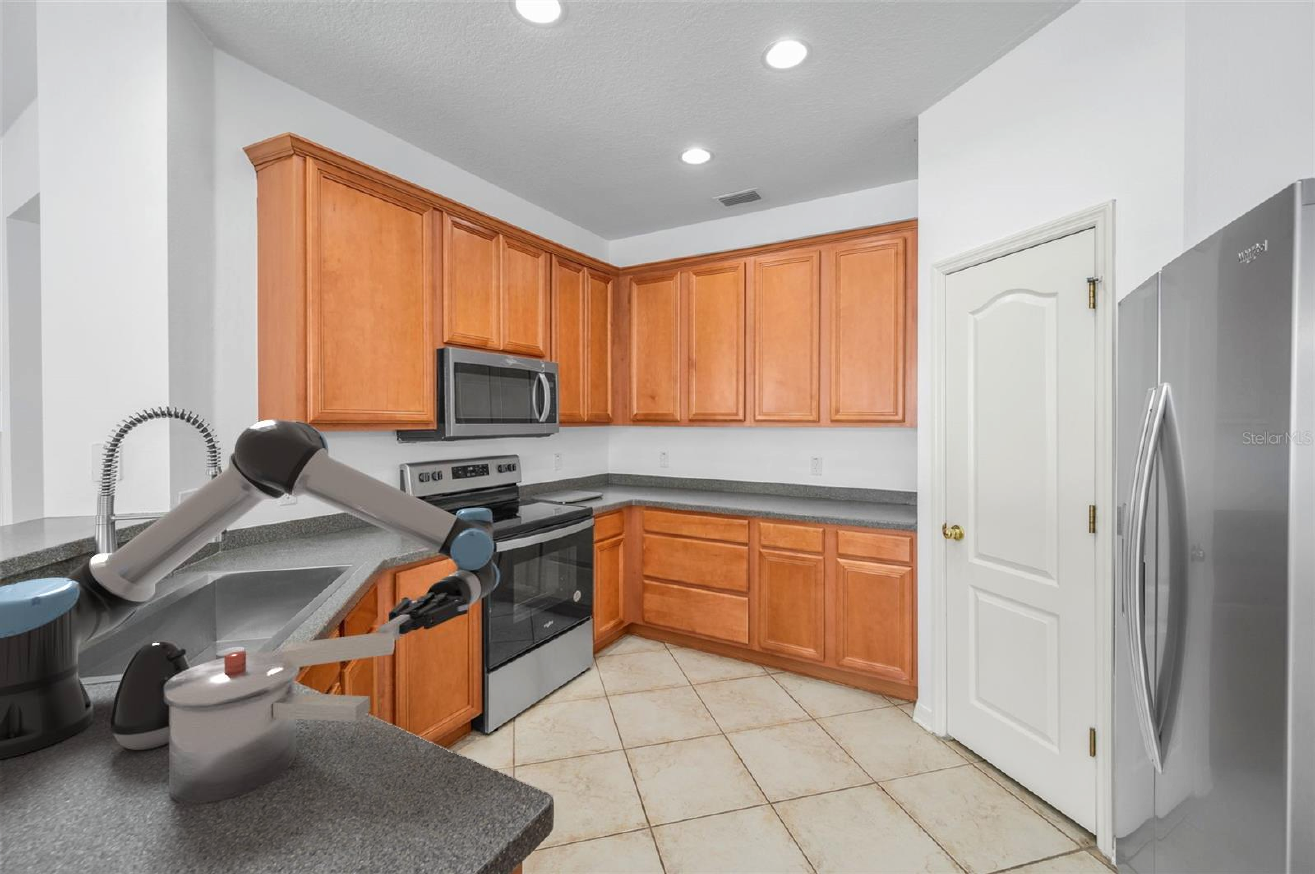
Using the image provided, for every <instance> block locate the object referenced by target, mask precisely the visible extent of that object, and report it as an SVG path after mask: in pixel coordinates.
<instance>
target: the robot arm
mask: <svg viewBox="0 0 1315 874" xmlns="http://www.w3.org/2000/svg"><path fill="white" fill-rule="evenodd" d="M285 494H288V495H289V496H291V497H295V498H296V497H300V496H304V495H306V496H307V497H310V498H312V499H314V500H316V501H319V502H321V503H323V504H326V505H328V506H331V507H332V508H335V509H337V510H340V511H342V512H343V513H346V514H349V515H350V516H352V517H356V518H358V519H360V520H362V521H365V522H367V523H370V524H372V525H374V526H377V528H378V527H379V528H380V529H383V530H385V531H388V532H390V533H392V534H394V535H396V536H399V537H401V538H403V539H405V540H408V541H410V542H413V543H415V544H417V545H419V546H422V547H424V548H426V549H429V550H431V551H434V552H436V553H438V554H440V555H442V556H444V557H446V558H449V559H451V560H452V561H453V563H454V564H456V565H455V569H456V571H455V572H452V573H450V574H449V575H447V576H445V577H444V578H441V579H439V580H438V581H435V582H434V583H433V584H432V585H431V586H430V587H429V589H428V590H427V592H426V594H425V595H421V596H419V597H418V598H417V599H416V600H413V598H409V597H406V596H404V597H403V598H402V597H401V601H400V602H399V603H398V604H397V605H396V606H395V607H394V608H392V609H391V611H389V612H388V622H387V621H386V623H384V624H382V625H380V626H378V627H377V633H380V632H388V631H394V642H395V641H397V640H398V639H400V638H402V637H403V636H405V635H406V634H409V633H410V632H412V631H417V630H419V629H421V628H423V630H430V629H432V628H434V627H437V626H440V625H441V624H444V623H445V622H448V621H449V620H453V619H454V618H456V617H459V616H462V615H463V616H464V615H468V612H469V611H468V609H469V607H471V606H472V605H474V604H475V603H477V602H479V601H480V600H481V599H483V598H485V597H487V596H489V595H490V594H491V593H492V592H493V591H494V590H495V588H497V586H498V584H499V582H500V578H501V573H500V570H499V568H498V566H497V565H496V564H495V563H494V556H493V554H494V550H495V542H494V537H493V536H494V532H493V531H494V527H493V525H494V521H493V512H492V510H491V509H490V508H485V507H473V508H472V507H471V508H462V509H459V510H458V511H457V512H456V514H452V513H450V512H448V511H446V510H444V509H442V508H440V507H438V506H435V505H433V504H431V503H429V502H427V501H425V500H422V499H420V498H418V497H416V496H414V495H412V494H409V493H407V492H406V491H403V490H401V489H398V488H396V487H394V486H392V485H391V484H388V483H386V482H384V481H381V480H379V479H378V478H375V477H373V476H371V475H368V474H366V473H364V472H362V471H360V470H358V469H356V468H354V467H351V466H349V465H347V464H345V463H344V462H340V461H338V460H336V459H333V458H331V457H330V456H329V446H328V442H327V439H326V438H325V436H324V435H323V433H321V431H320V430H318V429H317V428H316V427H314V426H312V425H310V424H308V423H306V422H303V421H300V420H299V421H298V420H283V419H282V420H281V419H267V420H263V421H259V422H256V423H253V424H252V425H249V427H247V428H245V430H244V431H242V432H241V434H240V435H239V436H238V437H237V439H236V443H235V444H234V452H233V453H231V454H230V455H229V457H228V467H227V468H225V469H224V470H222V472H220V473H219V474H218V475H217V476H215V477H214V478H213V479H211V480H209V481H208V482H207V483H205V484H204V485H203V486H201V487H200V488H199V489H198V490H196V491H194V492H193V493H192V494H191V495H190V496H188V497H186V498H185V499H184V500H183V501H182V502H180V503H179V504H178V505H175V507H174V508H172V509H171V510H169V511H168V512H166V513H165V514H164V515H163V516H161V517H160V518H159V519H157V520H156V521H155V522H153V523H152V524H150V525H149V526H148V527H147V528H145V529H144V530H143V531H141V532H139V534H137V535H136V536H135V537H133V538H132V539H130V540H129V541H128V542H126V543H125V544H124V545H123V546H121V547H119V548H118V549H117V550H116V551H114V552H112V553H111V552H110V553H109V552H103V553H98V554H95V555H94V556H93V557H91V558H90V559H88V560H87V561H85V562H84V563H83V564H81V565H80V566H79V567H78V568H76V569H75V570H74V571H72V572H70V573H69V574H68V575H67V576H65V577H45V578H35V579H28V580H24V581H19V582H17V583H14V584H6V585H2V586H0V760H3V759H8V758H13V757H16V756H20V755H23V754H27V753H30V752H33V751H36V750H40V749H43V748H46V747H49V746H51V745H54V744H56V743H59V742H62V741H63V740H66V739H69V738H70V737H73V736H74V735H76V734H78V733H80V732H81V731H83V730H85V729H86V728H87V727H88V726H90V725H91V724H92V722H93V721H94V704H93V702H92V701H91V699H90V696H89V694H88V692H87V691H86V689H85V686H84V683H82V680H81V678H80V676H79V647H80V646H82V645H84V644H86V643H88V642H90V641H92V640H93V639H96V638H97V637H100V636H102V635H104V634H107V633H110V632H111V631H114V630H116V629H118V628H120V627H122V626H123V625H124V624H125V623H127V622H128V621H130V620H131V619H132V617H133V616H134V615H135V614H136V613H137V612H138V611H139V610H140V608H141V606H143V605H144V604H145V603H146V602H148V601H149V600H150V599H152V598H153V596H154V595H155V593H156V584H157V583H159V581H161V580H162V579H164V578H165V577H166V576H168V575H169V574H170V573H171V572H173V571H174V570H176V568H179V566H180V565H181V564H183V563H184V562H185V561H187V560H188V559H189V558H191V557H192V556H193V555H195V554H196V553H198V551H200V550H201V549H202V548H204V547H205V546H206V545H207V544H209V543H210V542H212V540H214V539H215V538H217V537H218V536H219V535H220V534H222V533H223V532H224V531H225V530H226V529H228V528H229V527H231V526H232V525H233V524H235V523H236V522H237V521H239V520H240V519H241V518H243V516H245V515H246V514H248V513H249V512H250V511H252V510H253V509H254V508H255V507H257V506H258V505H259V504H260V503H262V502H263V501H264V500H278V499H280V498H281V497H283V496H284V495H285Z"/></svg>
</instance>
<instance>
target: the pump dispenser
mask: <svg viewBox="0 0 1315 874" xmlns="http://www.w3.org/2000/svg"><path fill="white" fill-rule="evenodd" d="M186 654H187V650H186V648H181V649H180V647H178V646H177V645H176V644H175V643H174V642H171V641H167V640H157V641H152V642H150V643H147V644H144V645H143V646H141V647H140V648H139V649H138V650H137V651H136V652H135V653H134V655H133V656H132V657H131V659H130V660H129V661H128V664H127V665H126V667H125V669H124V671H123V673H122V676H121V679H120V681H119V684H118V687H117V689H116V693H115V695H114V699H113V702H112V703H113V704H112V708H111V713H110V720H109V730H110V732H111V733H112V734H113V736H114V738H115V740H116V742H117V743H118V744H119V745H120V746H121V747H124V748H125V749H129V750H134V751H135V750H136V751H143V750H144V751H145V750H151V749H155V748H158V747H159V748H160V747H162V746H165V745H168V744H169V705H167V704H166V703H165V702H164V685H165V684H166V682H167V681H168V680H170V679H171V678H172V677H174V676H176V675H177V674H179V673H181V672H183V671H185V670H188V669H190V668H191V666H190V663H189V661H188V659H187V657H186Z"/></svg>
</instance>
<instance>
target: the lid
mask: <svg viewBox="0 0 1315 874" xmlns="http://www.w3.org/2000/svg"><path fill="white" fill-rule="evenodd" d="M394 650H395V641H394V631H388V632H380V633H378V632H374V633H373V632H372V633H366V634H357V635H349V636H342V637H332V638H326V639H316V640H315V639H314V640H308V641H300V642H291V643H287V645H286V646H285V648H284V649H283V651H277V650H275V651H274V650H273V651H271V650H270V651H267V650H266V651H257V652H256V651H255V652H249V653H247V652H246V650H245V651H238V652H233V653H229V654H227V655H225V657H224V658H221V659H217V660H216V659H214V660H210V661H207V662H204V663H200V664H198V665H194V666H193V667H190V669H188V670H185V671H183V672H181V673H179V674H177V675H176V676H174V677H172V678H171V679H170V680H168V681H167V682H166V684H165V685H164V702H165V703H166V704H167V705H169V706H172V707H177V708H206V707H214V706H220V705H226V704H231V703H235V702H239V701H243V700H247V699H250V698H254V697H257V696H260V695H263V694H265V693H268V692H271V691H273V690H275V689H278V688H280V687H281V686H283V685H285V684H287V683H289V682H290V681H291V680H293V679H294V678H295V679H296V677H297V676H298V675H299V673H300V668H301V667H310V666H314V665H315V666H316V665H317V666H318V665H322V664H323V665H324V664H329V663H330V664H331V663H338V662H339V663H340V662H346V661H351V660H360V659H366V658H367V659H368V658H373V657H380V656H381V657H382V656H388V655H389V656H390V655H393V654H394Z"/></svg>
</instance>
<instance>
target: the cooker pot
mask: <svg viewBox="0 0 1315 874" xmlns="http://www.w3.org/2000/svg"><path fill="white" fill-rule="evenodd" d="M369 712H371V697H370V695H369V696H368V695H347V694H330V693H329V694H327V693H323V694H322V693H304V692H303V693H301V692H296V677H295V678H294V679H293V680H291V681H290V682H289V683H287V684H285V685H283V686H281V687H280V688H278V689H275V690H273V691H271V692H268V693H265V694H263V695H260V696H257V697H254V698H250V699H247V700H243V701H239V702H235V703H231V704H226V705H220V706H214V707H206V708H177V707H172V706H169V743H168V753H169V754H168V758H169V759H168V760H169V761H168V765H169V766H168V772H169V773H168V783H169V785H168V786H169V787H168V788H169V789H168V791H169V796H170V798H171V799H173V800H174V801H177V802H178V803H182V804H192V805H193V804H195V805H196V804H206V803H207V804H208V803H214V802H218V801H223V800H227V799H231V798H235V797H238V796H241V795H243V794H246V793H249V792H251V791H254V790H257V789H259V788H260V786H261V787H263V786H264V785H267V784H269V783H270V782H272V781H274V780H276V779H277V778H278V777H280V776H281V775H283V774H284V773H285V772H286V771H288V769H289V768H290V767H291V766H292V765H293V764H294V762H295V760H296V755H297V754H296V753H297V752H296V751H297V749H296V747H297V746H296V745H297V742H296V741H297V739H296V737H297V736H296V729H297V728H296V724H297V723H296V721H297V720H299V719H300V720H314V721H316V720H317V721H333V722H335V721H337V722H351V723H352V722H353V723H354V722H355V723H356V722H358V721H359V720H360V719H362V718H363V717H364V716H365V715H367V713H369ZM296 719H297V720H296ZM284 771H285V772H284ZM271 780H272V781H271Z"/></svg>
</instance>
